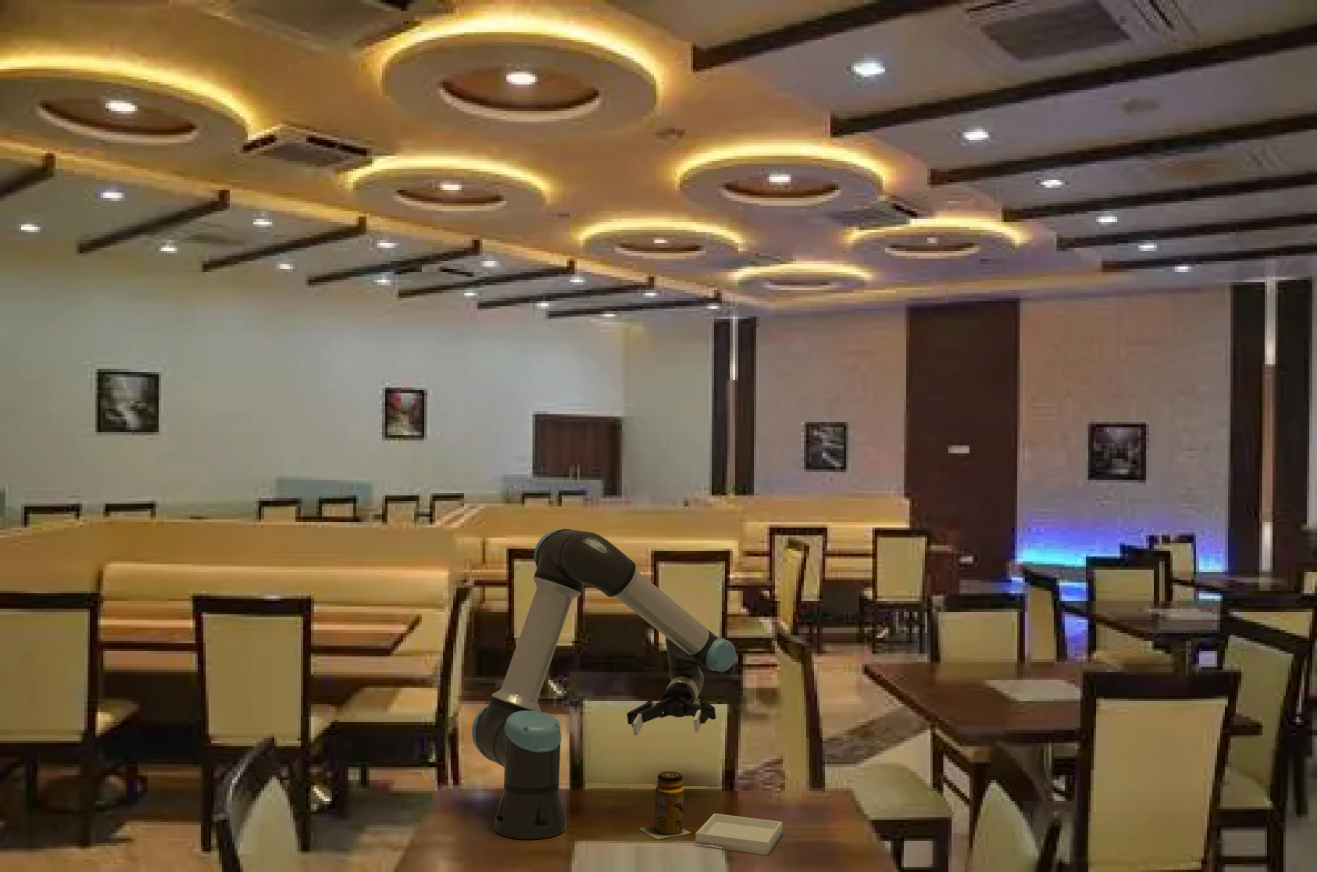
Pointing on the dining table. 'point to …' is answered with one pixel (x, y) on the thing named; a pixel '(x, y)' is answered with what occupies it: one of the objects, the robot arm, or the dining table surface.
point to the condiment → (668, 807)
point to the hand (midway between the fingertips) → (665, 727)
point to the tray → (740, 833)
